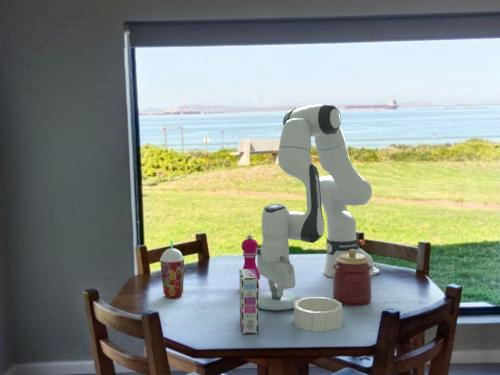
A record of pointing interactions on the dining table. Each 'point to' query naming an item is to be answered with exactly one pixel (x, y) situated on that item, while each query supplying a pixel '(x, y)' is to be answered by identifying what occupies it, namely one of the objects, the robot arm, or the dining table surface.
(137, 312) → the dining table surface
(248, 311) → the candy bar box
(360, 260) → the canister
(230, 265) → the dining table surface
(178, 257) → the smoothie
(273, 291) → the lid
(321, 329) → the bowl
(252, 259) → the pepper mill
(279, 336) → the dining table surface
